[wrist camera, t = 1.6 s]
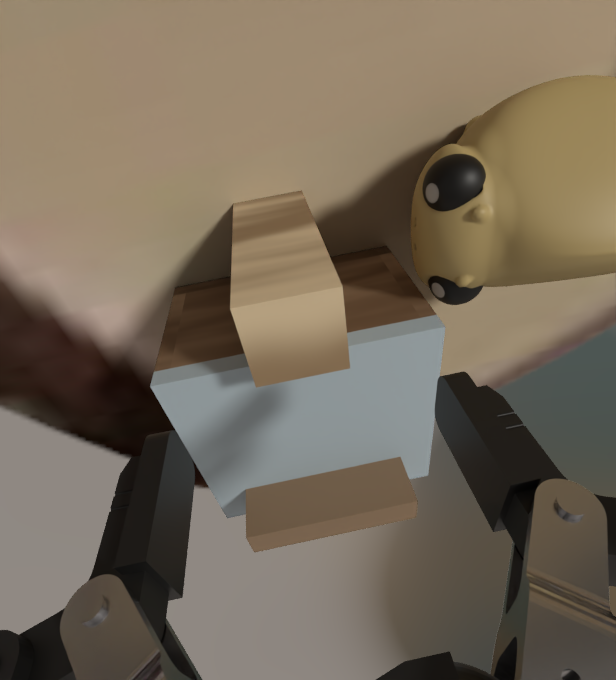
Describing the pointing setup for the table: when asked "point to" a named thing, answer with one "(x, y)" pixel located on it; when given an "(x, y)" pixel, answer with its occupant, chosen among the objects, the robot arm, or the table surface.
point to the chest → (220, 330)
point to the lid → (313, 435)
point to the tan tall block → (285, 292)
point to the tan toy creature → (522, 193)
